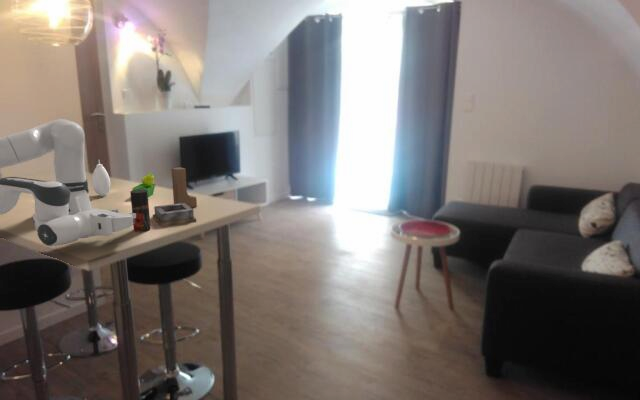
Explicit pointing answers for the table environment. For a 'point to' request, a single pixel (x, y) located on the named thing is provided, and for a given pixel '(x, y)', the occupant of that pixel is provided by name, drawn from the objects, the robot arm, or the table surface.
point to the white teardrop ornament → (101, 180)
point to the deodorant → (140, 210)
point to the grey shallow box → (173, 214)
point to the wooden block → (181, 188)
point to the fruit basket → (147, 184)
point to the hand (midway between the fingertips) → (125, 213)
